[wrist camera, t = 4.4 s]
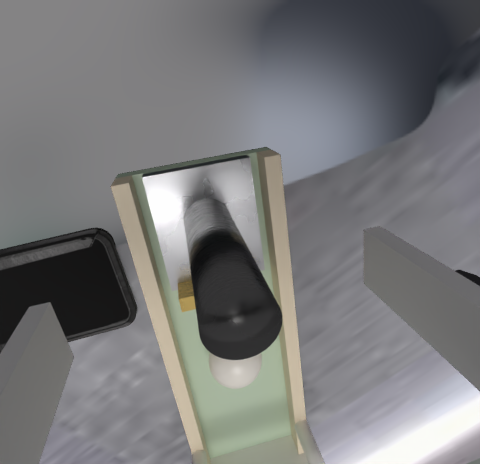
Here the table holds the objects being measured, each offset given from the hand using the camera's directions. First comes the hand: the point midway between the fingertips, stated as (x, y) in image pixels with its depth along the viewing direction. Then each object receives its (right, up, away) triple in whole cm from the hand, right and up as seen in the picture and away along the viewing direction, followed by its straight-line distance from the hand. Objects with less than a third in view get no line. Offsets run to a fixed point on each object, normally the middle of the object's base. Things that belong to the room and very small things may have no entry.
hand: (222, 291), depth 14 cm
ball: (0, -6, +13) cm, 15 cm away
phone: (-15, -2, +10) cm, 18 cm away
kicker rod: (-1, +3, +9) cm, 9 cm away
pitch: (0, -5, +14) cm, 15 cm away
